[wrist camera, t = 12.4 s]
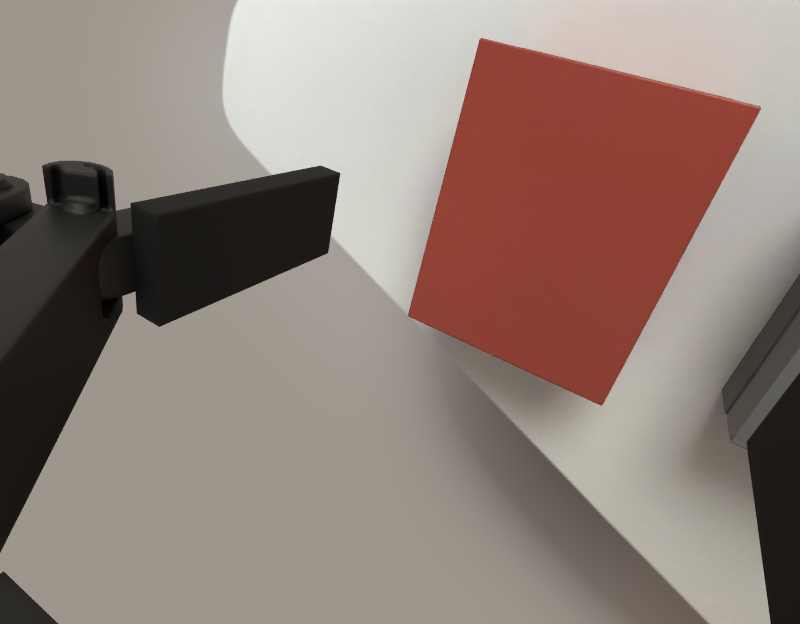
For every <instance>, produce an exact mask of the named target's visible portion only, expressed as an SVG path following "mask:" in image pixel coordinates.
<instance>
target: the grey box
mask: <svg viewBox="0 0 800 624" xmlns="http://www.w3.org/2000/svg"><path fill="white" fill-rule="evenodd" d="M799 373H800V275H799V277H798V278H797V280H796V281H795V283H794V284H793V286H792V287H791V289H790V290H789V291H788V293H787V294H786V296H785V297H784V299H783V300H782V302H781V303H780V305H779V306H778V308H777V309H776V311H775V312H774V314H773V315H772V317H771V318H770V320H769V321H768V323H767V324H766V326H765V327H764V329H763V330H762V332H761V333H760V335H759V336H758V338H757V339H756V340H755V342H754V343H753V345H752V346H751V348H750V349H749V351H748V352H747V354H746V355H745V357H744V358H743V360H742V361H741V363H740V364H739V366H738V367H737V369H736V370H735V372H734V373H733V375H732V376H731V378H730V379H729V381H728V382H727V384H726V385H725V387H724V388H723V389H722V392H723V401H724V410H725V413H726V414H727V419H728V428H729V436H730V442H732V443H734V444H736V445H738V446H740V447H743V448H745V449H747V443H746V442H747V441H748V439H749V438H750V437H751V435H752V434H753V433H754V432H755V430H756V429H757V428H758V426H759V425H760V424H761V422H762V421H763V420H764V418H765V417H766V416H767V414H768V413H769V412H770V411H771V409H772V408H773V407H774V405H775V404H776V403H777V401H778V400H779V399H780V397H781V396H782V395H783V394H784V392H785V391H786V390H787V388H788V387H789V386H790V384H791V383H792V382H793V380H794V379H795V378H796V376H797V375H798V374H799Z"/></svg>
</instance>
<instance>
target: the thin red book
mask: <svg viewBox="0 0 800 624" xmlns="http://www.w3.org/2000/svg"><path fill="white" fill-rule="evenodd" d="M760 109H761V107H760V106H756V105H752V104H748V103H744V102H740V101H736V100H732V99H727V98H723V97H719V96H715V95H711V94H707V93H703V92H699V91H695V90H691V89H687V88H683V87H679V86H674V85H670V84H666V83H662V82H658V81H654V80H650V79H646V78H642V77H638V76H634V75H630V74H626V73H621V72H617V71H613V70H609V69H605V68H601V67H597V66H593V65H589V64H585V63H581V62H577V61H573V60H568V59H564V58H560V57H556V56H552V55H548V54H544V53H540V52H536V51H532V50H528V49H524V48H520V47H515V46H511V45H507V44H503V43H499V42H495V41H491V40H487V39H483V38H481V39H480V40H479V44H478V48H477V52H476V56H475V60H474V64H473V67H472V71H471V75H470V79H469V83H468V87H467V90H466V94H465V98H464V102H463V106H462V110H461V114H460V117H459V121H458V125H457V129H456V133H455V137H454V141H453V144H452V148H451V152H450V156H449V160H448V164H447V168H446V171H445V175H444V179H443V183H442V187H441V191H440V195H439V198H438V202H437V206H436V210H435V214H434V218H433V221H432V225H431V229H430V233H429V237H428V241H427V245H426V248H425V252H424V256H423V260H422V264H421V268H420V272H419V275H418V279H417V283H416V287H415V291H414V295H413V299H412V302H411V306H410V310H409V314H408V316H409V317H411V318H413V319H415V320H418V321H420V322H422V323H424V324H426V325H428V326H431V327H433V328H435V329H437V330H439V331H441V332H444V333H446V334H448V335H450V336H452V337H454V338H456V339H459V340H461V341H463V342H465V343H467V344H469V345H472V346H474V347H476V348H478V349H480V350H482V351H485V352H487V353H489V354H491V355H493V356H495V357H497V358H500V359H502V360H504V361H506V362H508V363H510V364H513V365H515V366H517V367H519V368H521V369H523V370H526V371H528V372H530V373H532V374H534V375H536V376H539V377H541V378H543V379H545V380H547V381H549V382H551V383H554V384H556V385H558V386H560V387H562V388H564V389H567V390H569V391H571V392H573V393H575V394H577V395H580V396H582V397H584V398H586V399H588V400H590V401H593V402H595V403H597V404H599V405H603V403H604V401H605V399H606V398H607V396H608V394H609V392H610V390H611V388H612V386H613V384H614V383H615V381H616V379H617V377H618V375H619V373H620V371H621V369H622V368H623V366H624V364H625V362H626V360H627V358H628V356H629V355H630V353H631V351H632V349H633V347H634V345H635V343H636V341H637V340H638V338H639V336H640V334H641V332H642V330H643V328H644V326H645V325H646V323H647V321H648V319H649V317H650V315H651V313H652V311H653V310H654V308H655V306H656V304H657V302H658V300H659V298H660V297H661V295H662V293H663V291H664V289H665V287H666V285H667V283H668V282H669V280H670V278H671V276H672V274H673V272H674V270H675V268H676V267H677V265H678V263H679V261H680V259H681V257H682V255H683V254H684V252H685V250H686V248H687V246H688V244H689V242H690V240H691V239H692V237H693V235H694V233H695V231H696V229H697V227H698V225H699V224H700V222H701V220H702V218H703V216H704V214H705V212H706V210H707V209H708V207H709V205H710V203H711V201H712V199H713V197H714V196H715V194H716V192H717V190H718V188H719V186H720V184H721V182H722V181H723V179H724V177H725V175H726V173H727V171H728V169H729V167H730V166H731V164H732V162H733V160H734V158H735V156H736V154H737V152H738V151H739V149H740V147H741V145H742V143H743V141H744V139H745V138H746V136H747V134H748V132H749V130H750V128H751V126H752V124H753V123H754V121H755V119H756V117H757V115H758V113H759V111H760Z"/></svg>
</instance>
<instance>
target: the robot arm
mask: <svg viewBox="0 0 800 624" xmlns="http://www.w3.org/2000/svg"><path fill="white" fill-rule="evenodd" d="M42 168H43V175H44V182H45V189H46V196H47V202H48V203H47V204H46V205H45V206H42V205H38V204H35V203H32V201H31V194H30V188H29V183H28V182H26V181H25V180H23V179H20V178H17V177H13V176H6V175H5V174H1V173H0V552H1V550H2V548H3V546H4V544H5V542H6V540H7V538H8V536H9V534H10V532H11V530H12V528H13V526H14V524H15V522H16V520H17V518H18V516H19V515H20V512H21V511H22V508H23V507H24V504H25V503H26V501H27V499H28V497H29V495H30V493H31V491H32V489H33V487H34V485H35V483H36V481H37V479H38V477H39V475H40V473H41V471H42V469H43V467H44V465H45V463H46V461H47V459H48V457H49V455H50V453H51V451H52V449H53V447H54V445H55V443H56V441H57V439H58V437H59V435H60V433H61V431H62V429H63V427H64V425H65V423H66V421H67V419H68V417H69V415H70V413H71V411H72V409H73V407H74V406H75V404H76V402H77V400H78V397H79V396H80V394H81V392H82V390H83V387H84V386H85V384H86V382H87V380H88V378H89V376H90V374H91V372H92V370H93V368H94V366H95V364H96V362H97V360H98V358H99V356H100V354H101V352H102V350H103V348H104V346H105V344H106V342H107V340H108V338H109V336H110V334H111V332H112V330H113V328H114V326H115V324H116V322H117V320H118V318H119V316H120V314H121V313H122V309H123V301H122V296H123V295H126V294H129V293H132V292H135V291H136V306H137V314H139V315H140V316H142V317H144V318H145V319H147V320H149V321H150V322H152V323H154V324H156V325H157V326H159V327H160V326H162V325H165V324H167V323H169V322H171V321H174V320H176V319H178V318H181V317H183V316H185V315H187V314H190V313H192V312H194V311H197V310H199V309H201V308H203V307H206V306H208V305H210V304H213V303H215V302H217V301H219V300H221V299H224V298H226V297H229V296H231V295H233V294H235V293H238V292H240V291H242V290H244V289H247V288H249V287H251V286H254V285H256V284H258V283H261V282H263V281H265V280H267V279H270V278H272V277H274V276H276V275H279V274H281V273H283V272H286V271H288V270H290V269H292V268H295V267H297V266H299V265H302V264H304V263H306V262H308V261H311V260H313V259H315V258H318V257H320V256H322V255H325V254H327V253H328V250H329V243H330V237H331V230H332V224H333V217H334V211H335V204H336V198H337V191H338V184H339V178H340V173H338V172H336V171H333V170H330V169H328V168H325V167H323V166H316V167H311V168H306V169H301V170H296V171H291V172H286V173H281V174H276V175H271V176H266V177H261V178H256V179H251V180H246V181H241V182H236V183H231V184H226V185H220V186H216V187H210V188H206V189H200V190H195V191H191V192H185V193H180V194H175V195H170V196H165V197H160V198H155V199H150V200H145V201H140V202H134V203H131V208H128V209H122V210H118V211H116V205H115V192H114V178H113V171H112V170H111V169H109V168H108V167H105V166H103V165H100V164H96V163H90V162H83V161H58V162H52V163H48V164H45V165H43V166H42ZM746 443H747V450H748V458H749V465H750V473H751V480H752V487H753V495H754V502H755V510H756V517H757V524H758V532H759V539H760V547H761V554H762V562H763V569H764V576H765V584H766V591H767V599H768V606H769V613H770V621H771V624H800V373H799V374H798V375H797V376H796V378H795V379H794V380H793V382H792V383H791V384H790V386H789V387H788V388H787V390H786V391H785V392H784V394H783V395H782V396H781V397H780V399H779V400H778V401H777V403H776V404H775V405H774V407H773V408H772V409H771V411H770V412H769V413H768V414H767V416H766V417H765V418H764V420H763V421H762V422H761V424H760V425H759V426H758V428H757V429H756V430H755V432H754V433H753V434H752V435H751V437H750V438H749V439H748V441H747V442H746ZM0 624H58V623H57V622H56V621H55V620H54V619H53V618H52V617H51V616H50V615H49V614H47V613H46V612H45V611H44V610H43V609H42V608H41V607H40V606H39V605H38V604H37V603H36V602H35V601H34V600H33V599H32V598H31V597H30V596H29V595H28V594H27V593H25V591H24V590H22V589H21V588H20V587H19V586H18V585H17V584H16V583H15V582H14V581H13V580H12V579H11V578H10V577H9V576H8V575H7V574H6V573H5V572H2V573H1V574H0Z"/></svg>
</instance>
